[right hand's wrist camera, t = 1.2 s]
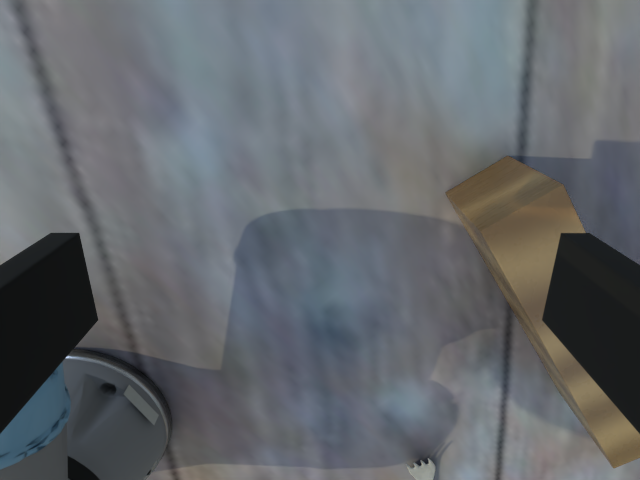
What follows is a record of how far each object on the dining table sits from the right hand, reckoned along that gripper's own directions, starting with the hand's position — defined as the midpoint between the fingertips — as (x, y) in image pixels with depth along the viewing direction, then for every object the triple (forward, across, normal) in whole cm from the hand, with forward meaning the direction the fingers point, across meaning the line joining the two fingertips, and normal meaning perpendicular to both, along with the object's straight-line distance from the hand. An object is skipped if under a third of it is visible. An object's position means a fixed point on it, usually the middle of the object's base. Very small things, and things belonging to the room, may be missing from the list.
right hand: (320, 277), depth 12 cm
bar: (+21, +18, -12) cm, 30 cm away
